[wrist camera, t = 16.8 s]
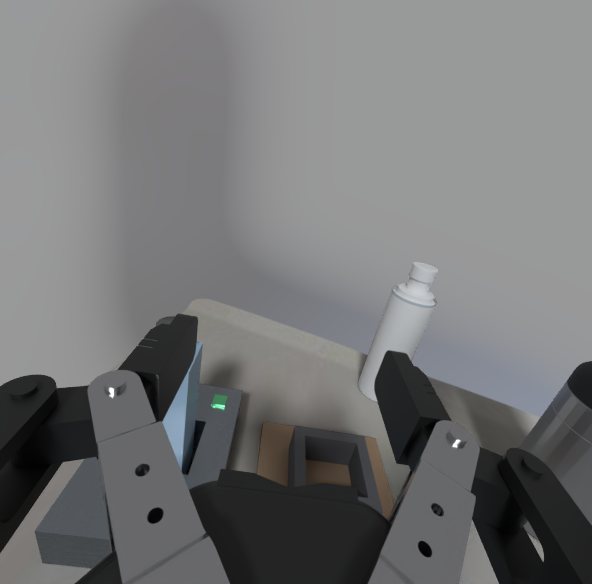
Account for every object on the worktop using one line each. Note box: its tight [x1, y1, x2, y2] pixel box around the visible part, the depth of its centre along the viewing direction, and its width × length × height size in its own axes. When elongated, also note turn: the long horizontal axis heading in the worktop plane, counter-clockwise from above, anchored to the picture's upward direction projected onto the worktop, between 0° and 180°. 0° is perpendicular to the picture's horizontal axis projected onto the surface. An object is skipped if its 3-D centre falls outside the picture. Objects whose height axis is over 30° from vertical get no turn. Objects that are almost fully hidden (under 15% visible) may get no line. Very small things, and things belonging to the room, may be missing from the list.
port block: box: [35, 384, 242, 568], centre depth 33 cm, size 18×13×5 cm
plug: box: [156, 317, 203, 475], centre depth 30 cm, size 4×4×19 cm
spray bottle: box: [358, 262, 438, 402], centre depth 49 cm, size 7×7×25 cm
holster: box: [257, 422, 394, 519], centre depth 34 cm, size 16×16×5 cm
